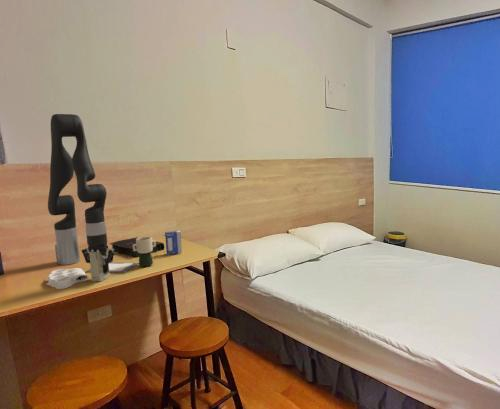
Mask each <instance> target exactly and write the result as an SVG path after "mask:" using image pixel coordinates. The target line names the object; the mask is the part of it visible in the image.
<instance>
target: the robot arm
mask: <svg viewBox="0 0 500 409" xmlns="http://www.w3.org/2000/svg"><path fill="white" fill-rule="evenodd" d="M66 137H67V138H68V137H69V138H72V137H73V138H75V140H76V146H75V149H74V152H73V155H72V156H71V154H70V153H69V152H68V151H67V149H66V147H64V144H63V138H66ZM50 140H51V153H50V163H49V164H50V165H49V166H50V167H49V168H50V169H49V172H50V174H49V176H50V177H49V192H48V199H47V210H48V213H49V214H50V215H51V216H64V215H65V217H64V218H62V219H60V220H58V221H56V222H55V223H54V224H53V225H54V226H53V227H54V235H55V241H56V242H55V243H56V244H54V251H55V257H56V258H55V259H56V264H57V265H63V266H64V265H72V264H76V263H78V262H80V261H81V259H80V250H79V240H78V231H77V224H76V222H77V221H76V208H75V207H76V205H75V199H74V197H73V196H72V195H70V194H67V195H66V194H64V195H61V192H62V191H63V190H64V188H65V187H66V186H67V185H68V184H69V183H70V182H71V181H72V179H73V177H74V174H75V177H76V185H77V186H76V187H77V188H76V189H77V191H76V194H77V197H78V199H79V201H80V202H82V203H85V204H86V203H93V202H94V204H93V206H91V207H90V206H89V207H87V208H86V209H85V210H84V220H85V234H86V243H87V247H86V248H84V249H81V252H82V256H83V258H84V260H85V263H86V264H90V255H89V253H90V252H99V253H100V255H101V260H102V263H103V273H107V272H108V271H109V265H108V264H109V263H110V262H114V256H115V252H114V251H115V249H112V248H110V247H109V246H108V235H107V234H108V233H107V226H106V221H105V212H104V210H105V205H106V199H107V190H106V189H107V188H106V187H105V186H104V184H102V183H91V184H87V183H88V182H91V181H93V180H94V179H95V178H96V173H95V169H94V167H93V164H92V161H91V158H90V155H89V149H88V144H87V143H88V142H87V137H86V134H85V129H84V126H83V122H82V119H81V117H80V116H79V115H77V114H72V113H71V114H69V113H55V114H52V116H51V118H50ZM106 252H108V253H106ZM107 254H108V256H107ZM104 255H105V257H103V256H104Z"/></svg>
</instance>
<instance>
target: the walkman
mask: <svg viewBox="0 0 500 409" xmlns="http://www.w3.org/2000/svg"><path fill="white" fill-rule="evenodd" d="M164 235H165V238H164V239H165V249H166V250H165V251H166V255H167V256H169V255H172V254H173V255H181V254H180V253H183V248H182V232H181V230H172V231H164Z"/></svg>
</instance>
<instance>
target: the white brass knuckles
mask: <svg viewBox="0 0 500 409" xmlns="http://www.w3.org/2000/svg"><path fill="white" fill-rule="evenodd" d="M79 277H80V279H79ZM88 278H89V276H88V275H87V274H86V271H84V270H83V268H79V267H77V268H68V269H67V268H59V269H55V270H52V271H50V274H49V275H48V277H47V278H45V280H44V281H45V282H47V283H46V285H47V286H50V287H52V288H55V289H56V290H63V289H66V288H69V287H73V285H75V284H76V283H81V282H85V281H87V280H88Z"/></svg>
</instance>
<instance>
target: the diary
mask: <svg viewBox="0 0 500 409" xmlns="http://www.w3.org/2000/svg"><path fill="white" fill-rule="evenodd" d="M137 238H139V236H137V237H132V238H127V239H125V238H124V239H121V240H117V241H114V242H110V243H109V245H111V249H115V251H114V253H116V254H121V255H124V256H129V257H131V258H135V259H137V258H138V259H139V255H140V253H138V252H137V251H133V244H136V239H137ZM152 245H154V242H152ZM135 249H137V247H136V246H135ZM161 250H163V251H164V250H165V244H164V242H159V241H156V246H155V247H153V250H152V251H151V252H150V253H151V254H152V253H156V252H158V251H161Z"/></svg>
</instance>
